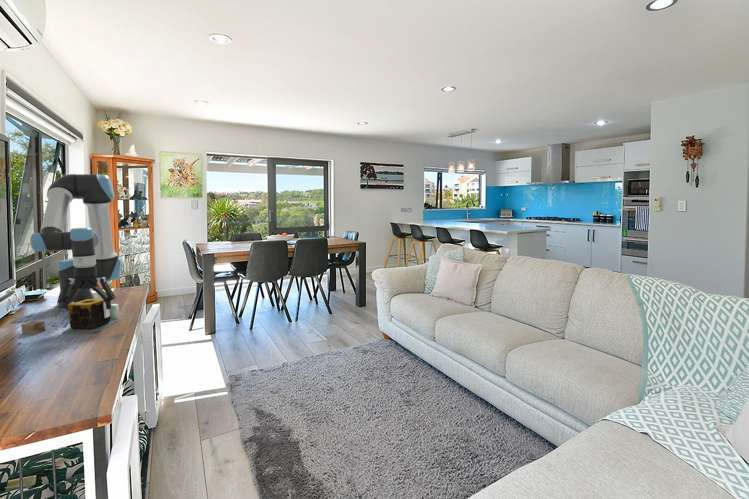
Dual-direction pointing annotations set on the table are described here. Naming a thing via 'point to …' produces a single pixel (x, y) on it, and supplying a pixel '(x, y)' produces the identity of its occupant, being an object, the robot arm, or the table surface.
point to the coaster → (96, 329)
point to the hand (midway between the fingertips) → (90, 317)
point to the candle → (87, 314)
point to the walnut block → (33, 327)
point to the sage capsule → (114, 312)
